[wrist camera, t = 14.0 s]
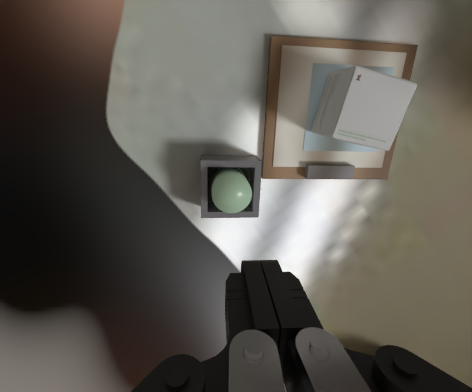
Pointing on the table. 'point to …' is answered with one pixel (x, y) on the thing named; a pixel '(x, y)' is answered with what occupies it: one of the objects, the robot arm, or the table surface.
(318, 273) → the table surface
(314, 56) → the picture frame
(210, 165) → the button housing
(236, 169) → the button
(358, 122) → the small box
